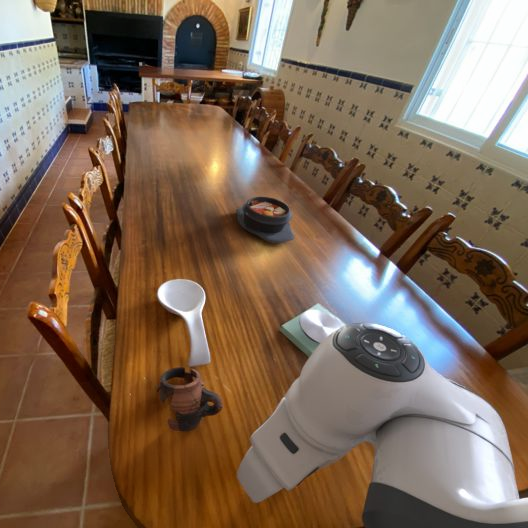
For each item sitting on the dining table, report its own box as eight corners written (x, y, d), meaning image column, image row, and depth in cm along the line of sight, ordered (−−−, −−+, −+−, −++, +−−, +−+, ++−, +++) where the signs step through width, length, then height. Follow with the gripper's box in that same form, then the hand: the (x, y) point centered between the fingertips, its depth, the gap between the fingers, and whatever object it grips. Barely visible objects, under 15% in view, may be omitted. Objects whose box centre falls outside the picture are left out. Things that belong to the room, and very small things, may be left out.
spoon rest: (153, 290, 78) (153, 270, 73) (195, 285, 80) (198, 265, 76) (173, 371, 60) (175, 351, 56) (227, 361, 63) (233, 341, 58)
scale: (376, 355, 67) (384, 345, 64) (340, 386, 60) (348, 377, 58) (315, 308, 77) (320, 298, 74) (279, 330, 70) (283, 321, 68)
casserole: (223, 213, 112) (227, 192, 107) (264, 207, 118) (270, 187, 113) (259, 251, 95) (266, 229, 89) (306, 242, 100) (315, 221, 95)
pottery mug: (151, 431, 52) (148, 388, 50) (168, 398, 61) (165, 361, 59) (220, 442, 48) (218, 396, 47) (227, 406, 57) (226, 366, 56)
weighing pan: (354, 334, 66) (355, 332, 66) (327, 354, 62) (328, 353, 61) (316, 305, 72) (317, 304, 72) (289, 322, 68) (290, 320, 68)
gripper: (341, 362, 44) (308, 405, 53) (241, 442, 35) (221, 478, 44) (382, 398, 40) (339, 437, 49) (282, 499, 31) (251, 525, 40)
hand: (283, 457), depth 46 cm, fingers open, 8 cm apart
